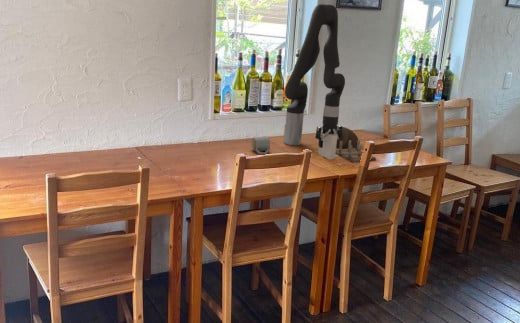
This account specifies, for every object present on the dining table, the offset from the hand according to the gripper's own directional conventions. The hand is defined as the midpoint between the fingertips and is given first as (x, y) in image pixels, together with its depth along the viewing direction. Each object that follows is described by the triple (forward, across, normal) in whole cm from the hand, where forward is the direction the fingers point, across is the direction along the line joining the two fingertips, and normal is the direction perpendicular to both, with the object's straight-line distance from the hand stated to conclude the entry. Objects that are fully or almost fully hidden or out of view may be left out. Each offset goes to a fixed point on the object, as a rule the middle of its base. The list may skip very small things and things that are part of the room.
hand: (327, 146), depth 241 cm
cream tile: (+5, 0, 0) cm, 5 cm away
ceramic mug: (+5, +28, -16) cm, 33 cm away
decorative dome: (+5, -22, -17) cm, 28 cm away
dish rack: (+5, -14, +4) cm, 15 cm away
